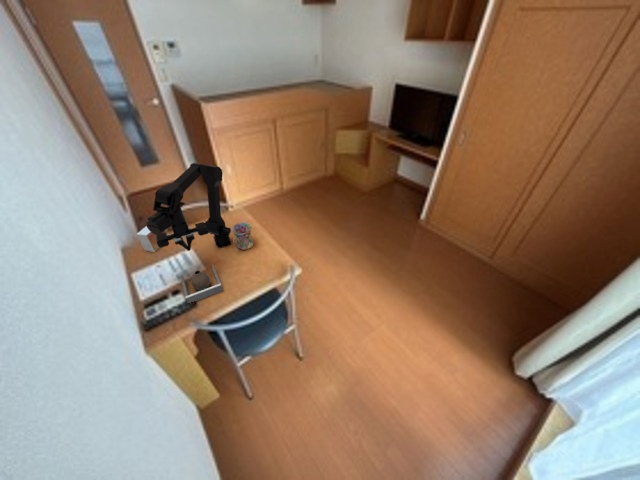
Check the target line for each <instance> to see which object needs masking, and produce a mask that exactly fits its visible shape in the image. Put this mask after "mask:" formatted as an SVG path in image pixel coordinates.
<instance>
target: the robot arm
mask: <svg viewBox="0 0 640 480" xmlns="http://www.w3.org/2000/svg"><path fill="white" fill-rule="evenodd" d="M200 177H201V178H202V179H201V180H202V181H203V183H204V184H205V186H206V192H207V193H206V194H207V203H208V212H209V213H208V214H209V217H208V218H207V220H205V222H204V221H201V222H198V223H194V226H195V227H194V228H193V227H192V228H191V227H189V225H188V221H187V220H186V218H185V214H184V212H183V210H182V207H183V206H185V204H186V203H185V202H183V201H182V200H183V199H184V193H185V192H186V191H187V190H188V189H189V188H190V187H191V185H193V184H194V183H195V182H196V181H197V180H198V179H199V178H200ZM222 182H223V169H222V168H221V167H220V166H216V165H211V164H204V163H199V162H192V163H191V164H190V165H189V167H188V168H187V169H186V170H185V171H184V172H182V174H180V175H179V176H178V177H177V178H176V179H174V180H173V182H172V183H168V184H165V185H163V186H162V187H160V188H158V189H157V190H156V191H155V196H154V203H153V209H152V210H153V211H154V212H156V213H154V214H152V215H151V216H148V217H147V222H146V226H147V228H148V229H149V230H150V231H151V232H152V233H153V234H155V235H156V242H157V245H158V247H159V249H162V248H164V247H168V246H169V245H170V241H171V240H173V241H174V244H175V245H179V246H181V247H183V248H184V249H186V251H188V252H189V251H191V248H192V244H193V240H195V236H194V234H198V236H204V235H208V234H210V235H214V236H213V241H214V243H215V246H216V247H217V248H218V249H221V248H224V247H227V246H230V245H232V242H231V239H230V234H231V233H232V227H227V226H226V222H225V220H224V219H223V217H222V213H221V211H222V210H221V197H220V185H221V183H222ZM161 205H163V206H161ZM146 226H145V227H146ZM170 228H171V230H172V233H173V234H167V232H166V230H167V229H170ZM183 237H185V240H186V241H185V240H184V238H183Z"/></svg>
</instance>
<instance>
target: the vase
mask: <svg viewBox="0 0 640 480" xmlns="http://www.w3.org/2000/svg"><path fill="white" fill-rule="evenodd" d="M190 283H191V285H192V287H193V288H194V290H196V291H202V290H204V289H207V288H210V287H209V286H210V284H211V279H210V275H208V274H207V273H206V272H204V271H202V270H198V269H197V270H195V271H194V272H193V275H192V277H191V281H190Z"/></svg>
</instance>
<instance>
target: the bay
mask: <svg viewBox="0 0 640 480" xmlns="http://www.w3.org/2000/svg"><path fill="white" fill-rule="evenodd" d="M211 268H212V270H213V271H212V272H213V273H214V275H215V279H216V281H217V284H215V285H213V286H210V287H208V288H207V289H204V290H201V291H200V290H198V291H196V292H194V293H191V294H189V290H188V288H187V287H188V286H187V283H186V280H185V277H184V276H183V275H180V279H181V283H182V287H183V293H184V297H185V300H186V302H187V304H188V303H190V304H192V303H191V302H193V303H196V302H198V301H201V300H204V299H205V298H207V297H208V298H209V297H211V296H214V295H216V294H219V293H221V292H224V289H223V286H222V283H221V281H220V278H219V276H218V273H217V270H216V267H215V266H214V264H212V265H211ZM194 301H195V302H194Z"/></svg>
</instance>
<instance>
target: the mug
mask: <svg viewBox="0 0 640 480" xmlns="http://www.w3.org/2000/svg"><path fill="white" fill-rule="evenodd" d="M251 232H252V225H251V224H250V223H248V222H239V223H236V224H234V225H233V226H232V227H231V233H233V235H234V237H233V239H232V242H233V244H235V246H236V248H238V249H240V250H244V251H245V250H248V249H249V250H250V249H251V248H252V247H253V246H254V245H255V244H254V240H253V239H252V237H251V236H252V235H251ZM235 241H236V242H235Z"/></svg>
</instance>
